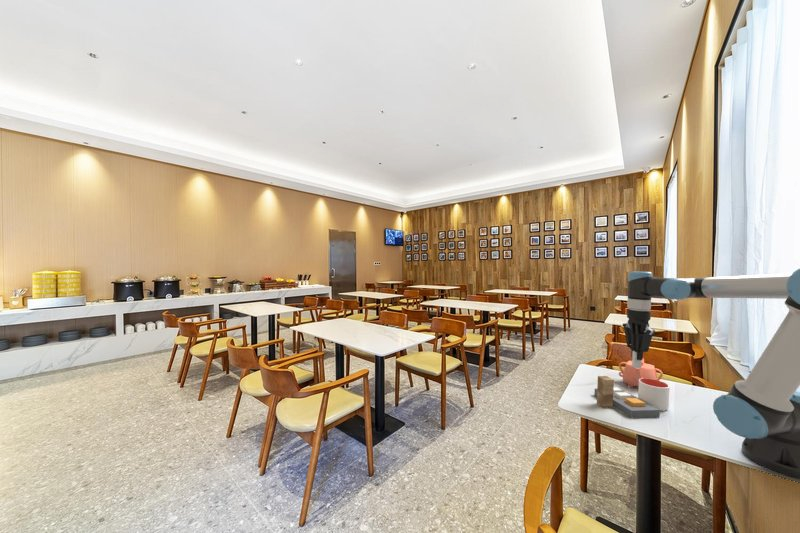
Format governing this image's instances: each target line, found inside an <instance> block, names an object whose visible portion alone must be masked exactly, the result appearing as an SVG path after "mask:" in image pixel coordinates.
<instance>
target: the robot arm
mask: <svg viewBox="0 0 800 533" xmlns="http://www.w3.org/2000/svg"><path fill="white" fill-rule="evenodd" d="M652 297H656V298H661V299H662V298H663V299H669V300H680V301H681V300H685V299H686V298H687V299H707V298H708V299H770V300H771V299H774V300H775V299H779V300H782V299H784V300H785V301H784V304H785V306H786V307H787V309H788V313H787V314H785V315H786V316H785V317H784V319H783V321H782V322H781V324H780V325H779V327H778V329H777V330H776V331H775V333H774V335H773V336H772V337H771V339H770V341H769V343H768V344H767V346H766V347H765V349H764V350H763V352H762V354H761V355H760V357H759V358H758V360H757V361H756V363H755V364H754V366H753V368H752V369H751V371H750V372H749V374H748V376H747V377H746V378H745V379H743V380H740V379H739V380H736V381H735V382H734V383H733V385H732V387H730V389H729V391H728V393H727V394H721V395H719V396H718V397H716V398H715V399H714V401H713V403H712V404H713V405H712V409H713V412H714V414H715V416H716V418H717V420H718V422H719V423H721V425H722V427H724V428H725V429H726V430H728V431H730V432H731V433H733V434H735V435H736V436H739V437H740V438H741V437H742V438H744V439H743V441H742V442H741V452H742V454H743V455H745V456H746V457H747V458H748V459H750V460H751V461H753V462H755V463H756V464H758V465H760V466H762V467H764V468H767V469H769V470H772V471H775V472H777V473H780V474H783V475H785V474H786V476H790V477H793V478H798V479H800V392H799V391H797V390H798V388H799V387H800V267H799V268H798V269H796V270H794V271H793V272H792V273H776V274H775V273H774V274H754V275H753V274H752V275H734V276H733V275H732V276H731V275H729V276H728V275H727V276H708V277H682V278H681V277H654V276H653V273H652V272H651V271H640V270H639V271H636V270H635V271H634V270H633V271H630V272H629V273H628V279H627V302H626V304H627V306H626V307H627V308H628V309H627V310H626V318H627V319H628V320H627V322H626V323H622V327H623V329H624V334H625V336H624V337H625V341H626V347H627V348H629V349H630V350H631V361H632V367H634V368H641V361H642V360H643V359H644V357H643V356H644V353H648V352H649V350H650V345H651V343H652V339H653V336H654V334H656V330H655V329H652V328H651V327H650V322H649V321H650V320H651V318H652V317H651V316H652V315H651V313H652V311H651V308H652Z"/></svg>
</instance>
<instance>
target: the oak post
mask: <svg viewBox="0 0 800 533" xmlns="http://www.w3.org/2000/svg"><path fill="white" fill-rule="evenodd" d="M614 382H615V380H614V378H611V377H609V376H608V375H598V376H597V384H596V385H597V388H596V389H597V396H596V405H598V406H599V407H601V408H602V409H614V407H613V390H614V387H615V386H614V385H615V383H614Z"/></svg>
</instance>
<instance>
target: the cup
mask: <svg viewBox="0 0 800 533" xmlns="http://www.w3.org/2000/svg"><path fill="white" fill-rule="evenodd" d="M637 394H638V395H637V398H639V399H640V400H642V401H644V402H646V403H648V404H650V405H652V406H654V407H655V408H657V409H659V410H660V412H661V411H667V410H668V409H669V407H670V405H669V404H670V385H669V384H668V383H666V382H664V381H662V380H659V381H658V380H654V379H648V378H642V379H639V387H638V392H637Z"/></svg>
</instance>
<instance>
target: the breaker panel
mask: <svg viewBox="0 0 800 533" xmlns="http://www.w3.org/2000/svg"><path fill="white" fill-rule="evenodd" d="M594 396H595V397H597V388H594ZM625 398H637V399H639V398H638V396H635V395H633V394H631V393H629V392H627V391H625V390H623V389H621V388H619V387H617V386H616V387H615V386H614V390H613V409H615V410H617V411H619V412H621V413H622V414H624V415H625V416H627V417H629V418H630V419H644V418H645V419H647V418H649V419H650V418H651V419H652V418H653V419H655V418H660V416H661V415H660V412H661V411H660V410H659V409H657V408H655V407H654V406H652V405H650V404H648V403H646V402H645V407H632V406H630V405H629V404H627V403H625ZM639 400H640V399H639ZM641 401H642V400H641ZM643 402H644V401H643Z"/></svg>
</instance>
